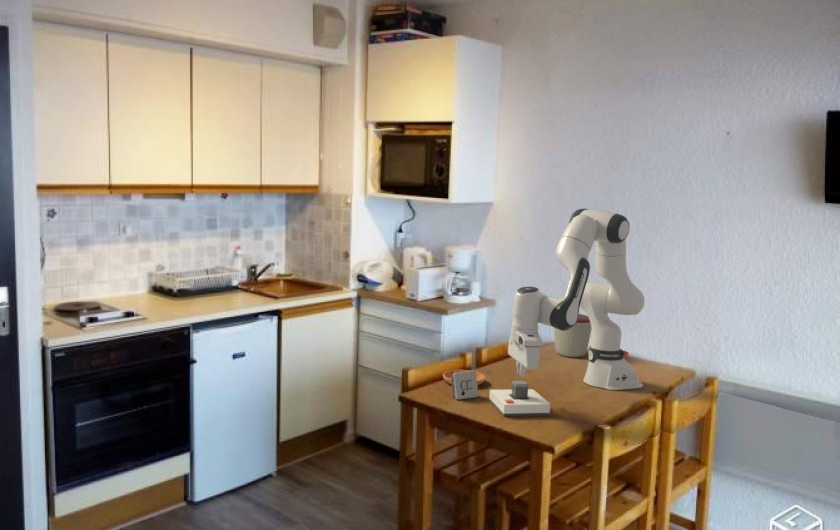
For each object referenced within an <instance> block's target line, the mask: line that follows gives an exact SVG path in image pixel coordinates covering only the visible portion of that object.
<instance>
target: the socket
mask: <svg viewBox="0 0 840 530" xmlns="http://www.w3.org/2000/svg"><path fill="white" fill-rule="evenodd" d="M511 395H512V389H489V393H488V396H489V397H488V401H489V403H490V402H491V403H492V404H493V405H494V406H493V405H492V404H491V405H492V406H493V407H494V408H495V409H496V410H497V411H498V413H500V415H501V416H503V417H504V418H505V417H507V416H509V417H542V416H543V417H547V416H549V417H550V413H551V412H550V411H551V403H550V402H549V401H548V400H546V399H545V398H544V397H543V396H542V395H540V394H539V393H538V392H537V391H536V390H535V389H532V388H530V389H529V388H528V396H527V399H516V400H514V399H513V398H512V397H511ZM541 415H542V416H541Z"/></svg>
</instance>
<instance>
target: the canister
mask: <svg viewBox="0 0 840 530" xmlns="http://www.w3.org/2000/svg"><path fill="white" fill-rule="evenodd" d="M553 329H554V349H555V351H556V353H557V355H561V356H563V357H567V358H581V357H584V356H585V355H586V353H587V351H588V347H589V343H590V340H591V323H590V320H589V317H588V315H587V314H582V313H579V315H578V319H577V322H576V323H575V325H574V326H573V327H571V328H570V329H568V330H566V331H561V330H559V329H556V328H554V327H553Z"/></svg>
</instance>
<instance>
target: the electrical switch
mask: <svg viewBox="0 0 840 530" xmlns="http://www.w3.org/2000/svg"><path fill="white" fill-rule="evenodd" d="M476 372H477V371H476V370H470V371H466V372H457V373H454V374H453V375H451V382H452V385H451V390H452V397H453V398H455V399H456V400H457V399H458V400H465V399H466V400H467V399H473V398H477V397H479V388H478V387H479V386H478V385H477V375H476ZM454 385H455V386H454Z"/></svg>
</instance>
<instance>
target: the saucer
mask: <svg viewBox="0 0 840 530" xmlns="http://www.w3.org/2000/svg"><path fill="white" fill-rule="evenodd" d="M466 371H471V370H469V369H468V370H467V369H453V370H452V369H451V370H446V371H445V372H444V373H442V378H443V379H444V381H445V382H447V384H449V385H451V386H452V382H451V375H453V374H454V373H457V372H466ZM476 375H477V385H479V386H480V385H481V384H483V383H484V382H485V381H486V375H485V374H484V373H481V372H478V371H476ZM454 387H455V385H454Z"/></svg>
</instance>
